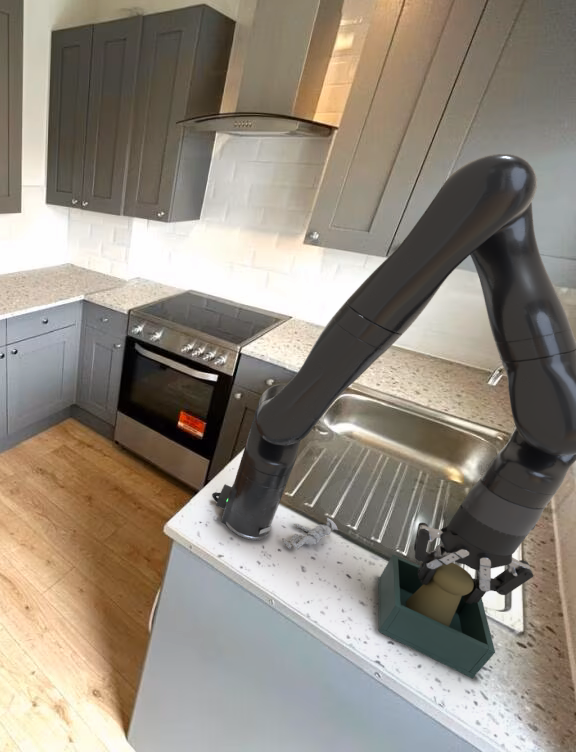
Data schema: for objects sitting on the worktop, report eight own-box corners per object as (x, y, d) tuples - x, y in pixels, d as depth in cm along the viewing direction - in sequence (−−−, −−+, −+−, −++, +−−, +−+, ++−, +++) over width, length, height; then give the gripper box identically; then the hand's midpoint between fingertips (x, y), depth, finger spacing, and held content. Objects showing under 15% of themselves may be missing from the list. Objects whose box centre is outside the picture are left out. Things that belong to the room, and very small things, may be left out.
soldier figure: (272, 537, 92) (309, 507, 95) (285, 558, 91) (322, 527, 95) (297, 541, 84) (336, 508, 88) (312, 564, 84) (351, 529, 87)
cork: (418, 627, 71) (449, 583, 67) (398, 594, 77) (425, 552, 72) (457, 634, 71) (491, 590, 66) (435, 601, 76) (464, 558, 71)
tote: (378, 631, 73) (395, 605, 70) (378, 579, 83) (392, 554, 80) (472, 678, 67) (495, 652, 64) (460, 616, 77) (480, 590, 74)
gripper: (554, 521, 63) (495, 596, 70) (433, 480, 70) (391, 553, 77) (572, 555, 57) (506, 633, 65) (438, 507, 64) (393, 583, 72)
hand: (444, 589), depth 71 cm, fingers closed on cork, 5 cm apart
